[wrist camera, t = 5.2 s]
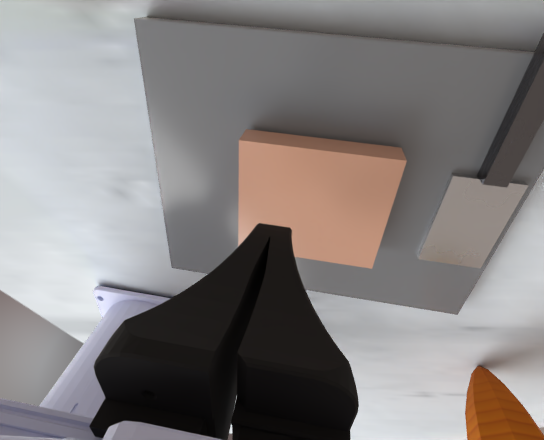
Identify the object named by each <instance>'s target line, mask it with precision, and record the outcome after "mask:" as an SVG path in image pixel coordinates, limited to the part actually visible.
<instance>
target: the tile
mask: <svg viewBox="0 0 544 440" xmlns="http://www.w3.org/2000/svg"><path fill="white" fill-rule="evenodd" d="M406 162H407V160H406V157H405V155H404V153H403V150H402V148H400V147H392V146H383V145H375V144H367V143H358V142H350V141H342V140H333V139H325V138H317V137H308V136H300V135H292V134H283V133H275V132H267V131H258V130H250V129H246V130H245V132H244V133H243V135H242V136H241V138H240V139H239V202H238V246H239V245H240V244H241V243H242V242H243V241H244V240H245V239H246V237H247V236H248V235H249V234H250V233H251V231H252V230H253V229H254V227H255V226H256V225H257V224H259V223H263V224H269V225H276V226H283V227H290V228H291V230H292V246H293V252H294V256H295V257H299V258H306V259H312V260H319V261H325V262H332V263H338V264H344V265H351V266H357V267H364V268H370V269H372V267H373V264H374V261H375V258H376V255H377V252H378V249H379V246H380V242H381V239H382V236H383V233H384V230H385V227H386V224H387V221H388V218H389V215H390V212H391V208H392V205H393V202H394V199H395V196H396V193H397V190H398V187H399V184H400V181H401V178H402V175H403V171H404V168H405V165H406Z"/></svg>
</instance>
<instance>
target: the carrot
mask: <svg viewBox="0 0 544 440" xmlns="http://www.w3.org/2000/svg"><path fill="white" fill-rule="evenodd" d="M465 415H466V428H467V439H468V440H544V435H543V433H542V432H541V430H540V429H539V427H538V426H537V425H536V423H535V422H534V420H533V419H532V417H531V416H530V414H529V413H528V412H527V410H526V409H525V408H524V407H523V405H522V404H521V403H520V402H519V400H518V399H517V398H516V397H515V396H514V395H513V394H512V393H511V391H510V390H509V389H508V388H507V387H506V386H505V385H504V384H503V383H502V382H501V381H500V380H499V379H498V378H497V377H496V376H495V375H493V374H492V373H491V372H490V371H489V370H488V369H485V368H483V367H481V366H477V368H476V369H475V370H474V371H473V373H472V374H471V379H470V383H469V387H468V391H467V399H466V410H465Z"/></svg>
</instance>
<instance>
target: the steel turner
mask: <svg viewBox="0 0 544 440" xmlns="http://www.w3.org/2000/svg"><path fill="white" fill-rule="evenodd" d="M543 120H544V33H543V36H542V38H541V40H540V42H539V44H538V46H537V48H536V50H535V53H534V55H533V57H532V59H531V61H530V63H529V65H528V67H527V70H526V72H525V74H524V76H523V78H522V80H521V82H520V85H519V87H518V89H517V91H516V93H515V95H514V97H513V99H512V102H511V104H510V106H509V108H508V110H507V112H506V114H505V117H504V119H503V121H502V123H501V125H500V127H499V129H498V131H497V134H496V136H495V138H494V140H493V142H492V144H491V146H490V149H489V151H488V153H487V155H486V157H485V159H484V161H483V163H482V166H481V168H480V170H479V172H478V174H477V176H471V175H463V174H455V173H451V175H450V178H449V180H448V182H447V185H446V187H445V190H444V192H443V194H442V197H441V199H440V202H439V204H438V206H437V209H436V211H435V213H434V216H433V218H432V221H431V223H430V225H429V228H428V230H427V233H426V235H425V237H424V240H423V242H422V245H421V247H420V249H419V252H418V254H417V257H418V259H421V260H427V261H434V262H440V263H447V264H454V265H460V266H467V267H474V268H481V267H482V265H483V263H484V261H485V260H486V258H487V256H488V255H489V253H490V251H491V249H492V248H493V246H494V244H495V243H496V241H497V239H498V237H499V236H500V234H501V232H502V231H503V229H504V227H505V225H506V224H507V222H508V220H509V218H510V217H511V215H512V213H513V212H514V210H515V208H516V206H517V205H518V203H519V201H520V200H521V198H522V196H523V194H524V193H525V191H526V189H527V187H528V186H529V185H528V184H527V183H526V182H519V181H511V179H512V178H513V176H514V174H515V172H516V170H517V168H518V166H519V165H520V163H521V161H522V159H523V157H524V155H525V154H526V152H527V150H528V148H529V146H530V144H531V142H532V141H533V139H534V137H535V135H536V133H537V131H538V129H539V128H540V126H541V124H542V122H543Z"/></svg>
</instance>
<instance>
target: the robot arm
mask: <svg viewBox="0 0 544 440" xmlns="http://www.w3.org/2000/svg"><path fill="white" fill-rule="evenodd" d="M93 294H94V296H95V299H96V302H97V305H98V308H99V310H100V313H101V316H102V319H101V321H100V322H99V323H98V325H97V326H96V328H95V329H94V330H93V332H92V333H91V335H90V336H89V337H88V339H87V340H86V342H85V343H84V344H83V346H82V347H81V349H80V350H79V352H78V353H77V354H76V356H75V357H74V359H73V360H72V361H71V362H70V364H69V365H68V367H67V368H66V369H65V371H64V372H63V374H62V375H61V376H60V378H59V379H58V381H57V382H56V383H55V385H54V386H53V388H52V389H51V390H50V392H49V393H48V394H47V396H46V397H45V399H44V400H43V402H42V403H41V404H40V406H36V405H31V404H27V403H22V402H17V401H12V400H8V399H3V398H0V440H228V435H229V430H230V425H232V428H233V440H350V429H351V426H352V424H353V422H354V419H355V417H356V415H357V413H358V406H359V404H358V395H357V390H356V385H355V381H354V377H353V374H352V370H351V367H350V364H349V361H348V360H347V359H346V357H345V356H344V355H343V353H342V352H341V351H340V349H339V348H338V347H337V345H336V344H335V343H334V341H333V340H332V338H331V337H330V335H329V334H328V332H327V331H326V329H325V327H324V326H323V324H322V322H321V320H320V319H319V317H318V315H317V313H316V312H315V310H314V308H313V306H312V304H311V302H310V300H309V297H308V295H307V293H306V291H305V288H304V286H303V283H302V280H301V277H300V274H299V271H298V268H297V264H296V260H295V256H294V252H293V246H292V230H291V228H290V227H283V226H276V225H269V224H263V223H259V224H257V225H256V226H255V227H254V229H253V230H252V231H251V233H250V234H249V235H248V236H247V237H246V239H245V240H244V241H243V242H242V243H241V244H240V245H239V246H238V247H237V248H236V249H235V250H234V251H233V252H232V253H231V254H230V255H229V256H228V257H227V258H226V259H225V260H224V261H223V262H222V263H221V264H220V265H218V266H217V267H216V268H215V269H214V270H213V271H211V272H210V273H209V274H208V275H206V276H205V277H204V278H202V279H201V280H200V281H198V282H197V283H195V284H194V285H192V286H191V287H189V288H188V289H186V290H185V291H183V292H181V293H180V294H178V295H176V296H175V297H173V298H166V297H160V296H154V295H149V294H143V293H137V292H131V291H126V290H120V289H114V288H108V287H103V286H97V287H95V289H94V290H93ZM236 396H237V399H236ZM235 401H236V403H235ZM234 406H235V407H234ZM232 415H233V416H232Z"/></svg>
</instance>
